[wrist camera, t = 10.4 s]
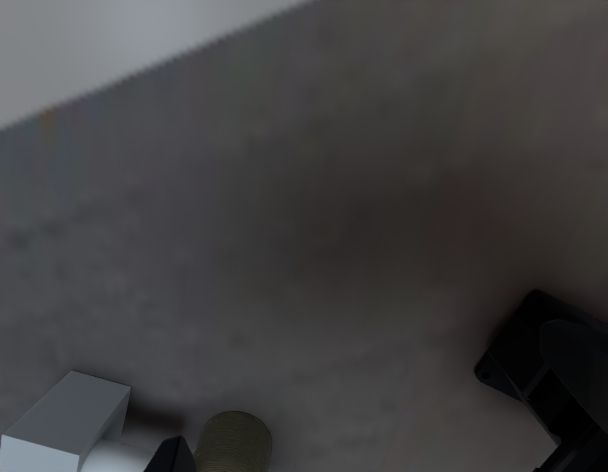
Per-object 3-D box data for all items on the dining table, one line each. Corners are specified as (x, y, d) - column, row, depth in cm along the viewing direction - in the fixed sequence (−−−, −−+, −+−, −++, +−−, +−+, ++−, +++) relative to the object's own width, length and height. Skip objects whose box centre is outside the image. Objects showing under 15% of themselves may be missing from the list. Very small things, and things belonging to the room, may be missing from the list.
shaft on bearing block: (63, 420, 25) (-5, 494, 20) (71, 370, 24) (1, 434, 19) (179, 451, 26) (143, 533, 20) (192, 403, 25) (157, 476, 19)
